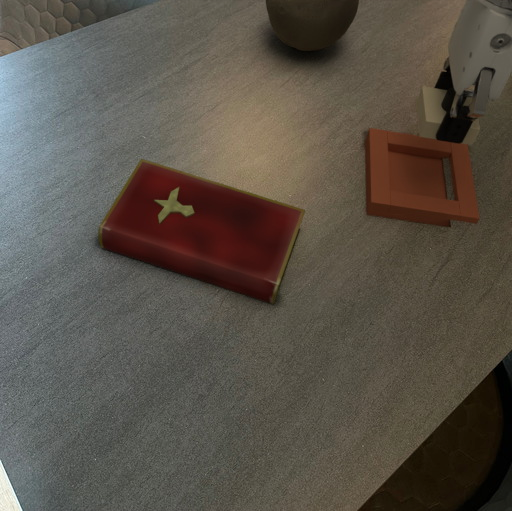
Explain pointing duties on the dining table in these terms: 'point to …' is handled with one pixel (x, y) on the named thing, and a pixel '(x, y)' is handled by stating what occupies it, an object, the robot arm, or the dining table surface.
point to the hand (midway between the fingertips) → (445, 119)
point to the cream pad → (440, 112)
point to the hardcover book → (203, 230)
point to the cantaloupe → (311, 21)
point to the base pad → (417, 179)
